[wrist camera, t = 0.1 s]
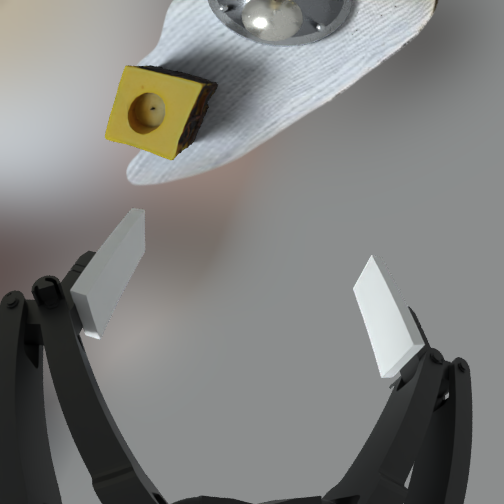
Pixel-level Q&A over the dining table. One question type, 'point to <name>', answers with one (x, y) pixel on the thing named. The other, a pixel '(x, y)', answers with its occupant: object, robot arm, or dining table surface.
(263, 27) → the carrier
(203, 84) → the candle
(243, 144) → the dining table surface
